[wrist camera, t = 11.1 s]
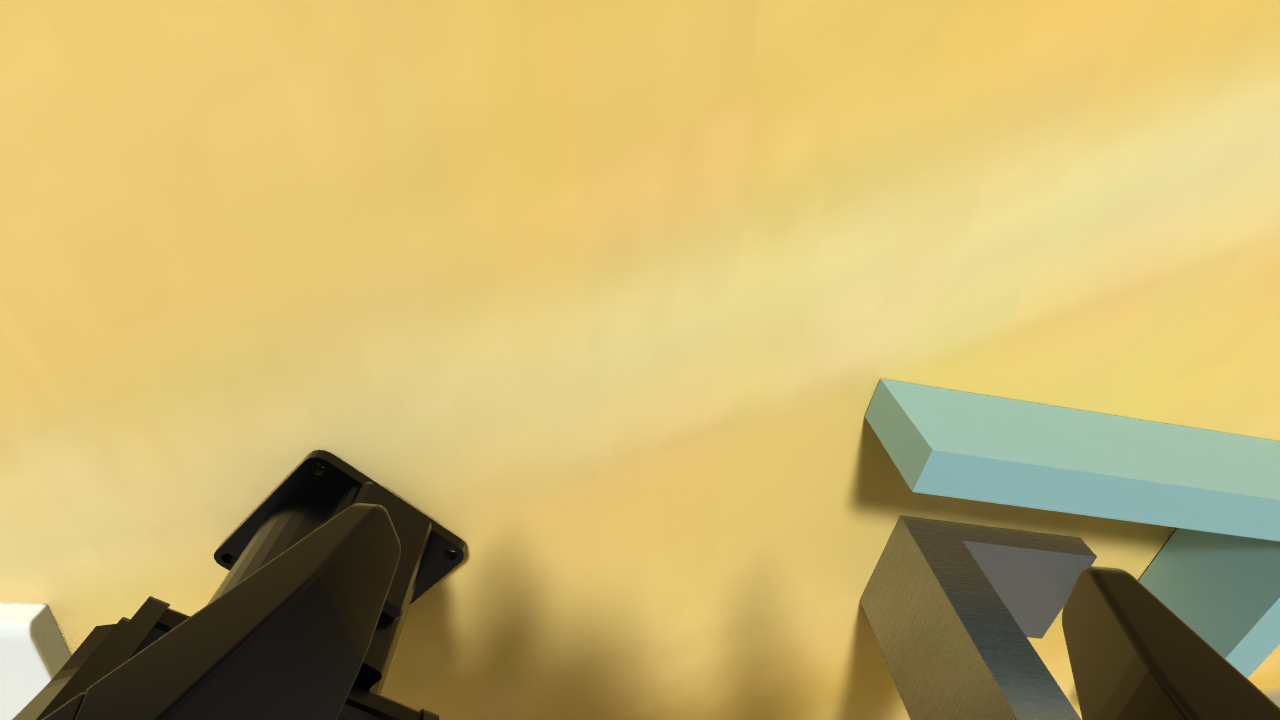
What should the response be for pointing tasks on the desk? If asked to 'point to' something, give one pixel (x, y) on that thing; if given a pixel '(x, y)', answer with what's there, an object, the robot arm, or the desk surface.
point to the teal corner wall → (1114, 493)
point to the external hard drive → (27, 654)
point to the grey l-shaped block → (972, 618)
